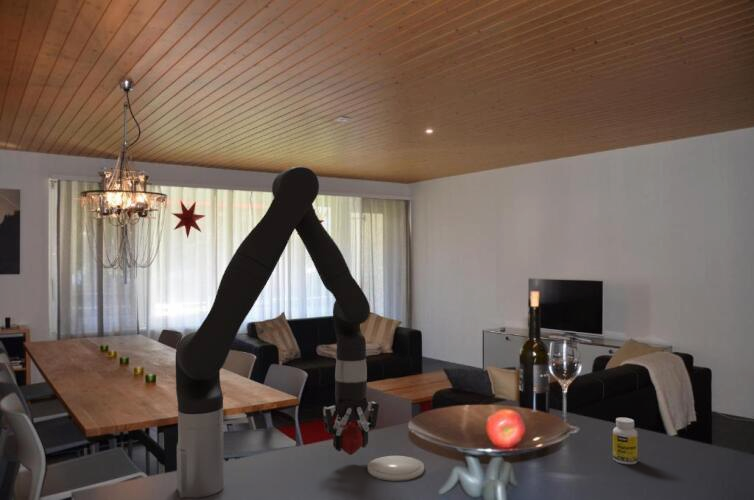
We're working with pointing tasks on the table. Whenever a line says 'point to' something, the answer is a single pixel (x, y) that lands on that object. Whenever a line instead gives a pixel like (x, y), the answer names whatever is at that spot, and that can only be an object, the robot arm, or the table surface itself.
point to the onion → (351, 438)
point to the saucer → (395, 468)
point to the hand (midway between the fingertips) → (350, 448)
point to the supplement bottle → (625, 441)
